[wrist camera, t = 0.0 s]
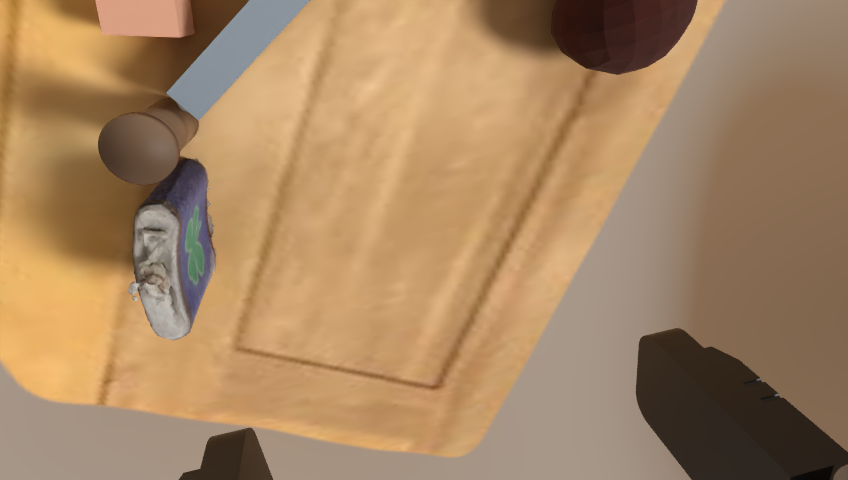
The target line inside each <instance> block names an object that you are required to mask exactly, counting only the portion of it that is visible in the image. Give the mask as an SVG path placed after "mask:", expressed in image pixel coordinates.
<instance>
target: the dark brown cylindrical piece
mask: <svg viewBox="0 0 848 480" xmlns="http://www.w3.org/2000/svg"><path fill="white" fill-rule="evenodd" d="M198 127H199V122H198V120H197V119H196V118H195V117H194V116H193V115H191V114H190V113H189V112H186V111H184V110H182V109H181V108H180V107H179V106H178V104H177V102H176V101H175V100H174V99H172V98H168V99H163V100H161V101H159V102H157V103H156V104H154V105H152V106H151V107H149V108H148V109H146V110H144V111H143V112H141V113H140V112H132V113H126V114H123V115H120V116H118V117H117V118H115V119H113V120H111V121H110V122H109V123H107V124H106V125H105V126H104V128H103V129H102V131H101V133H100V136H99V140H98V149H99V153H100V156H101V158H102V160H103V162H104V164H105V165H106V167H107V168H108V169H109V170H110V171H111V172H112V173H113V174H114V175H116V176H117V177H119V178H120V179H122V180H124V181H127V182H130V183H133V184H139V185H149V184H154V183H157V182H160V181H161V180H163V179H165V178H166V177H167V176H168V175H169V174H170V173H171V172H172V171H173V170H174V168H175V167H176V165H177V163H178V161H179V156H180V151H181V150H182V149H183V148H184V147H185V146H186V144H187V143H188V142H189V141H190V140H191V139H192V138H193V137H194V136H195V135H196V133H197V131H198Z"/></svg>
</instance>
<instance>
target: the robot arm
mask: <svg viewBox="0 0 848 480" xmlns="http://www.w3.org/2000/svg"><path fill="white" fill-rule="evenodd" d="M637 367H638V368H637V383H636V397H637V402H638V405H639V408H640V410H641V413H642V415H643V417H644V418H645V420H646V421H647V423H648V424H649V425H650V427H651V428H652V429H653V431H654V432H655V433H656V434H657V436H658V437H659V438H660V440H661V441H662V442H663V443H664V445H665V446H666V447H667V448H668V450H669V451H670V452H671V454H672V455H673V456H674V457H675V459H676V460H677V461H678V463H679V464H680V465H681V466H682V468H683V469H684V470H685V472H686V473H687V474H688V475H689V477H690V478H691V479H692V480H848V452H847V451H845V450H844V449H843V448H842V447H841V446H840V445H839V444H837V443H836V442H835V441H834V440H833V439H831V438H830V437H829V436H828V435H827V434H826V433H824V432H823V431H822V430H821V429H819V427H817V426H816V425H815V424H814V423H813V422H811V421H810V420H809V419H808V418H807V417H805V416H804V415H803V414H802V413H801V412H800V411H798V410H797V409H796V408H795V407H794V406H793V405H791V404H790V403H789V402H788V401H787V400H786V399H784V398H780V397H779V394H778V393H777V392H776V391H775V390H774V389H773V388H771V387H770V386H769V385H768V384H767V383H766V382H762V381H761V379H760V377H758V376H757V375H756V374H755V373H754V372H752V371H751V370H750V369H749V368H748V367H747V366H745V365H744V364H743V363H742V362H741V361H740V360H738V359H736V358H734V357H732V356H730V355H728V354H726V353H724V352H722V351H720V350H717V349H715V348H713V347H707V348H703V347H702V346H701V345H700V344H699V343H698V342H696V341H695V340H694V339H693V338H692V337H691V336H690V335H688V333H686V332H685V331H684V330H682V329H679V328H675V329H671V330H667V331H663V332H658V333H654V334H650V335H646V336H643V337H642V338H641V339H640V342H639V351H638V366H637ZM179 480H273V478H272V475H271V473H270V470H269V468H268V465H267V463H266V460H265V457H264V455H263V452H262V449H261V447H260V445H259V442H258V439H257V436H256V434H255V432H254V430H253V429H252V428H246V429H242V430H238V431H234V432H230V433H225V434H221V435H217V436H212V437H210V438H209V440H208V442H207V445H206V449H205V452H204V456H203V461H202V465H201V468H200V469H198V470H194V471H190V472H186V473H183V475H182V476H181V477H180V479H179Z"/></svg>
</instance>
